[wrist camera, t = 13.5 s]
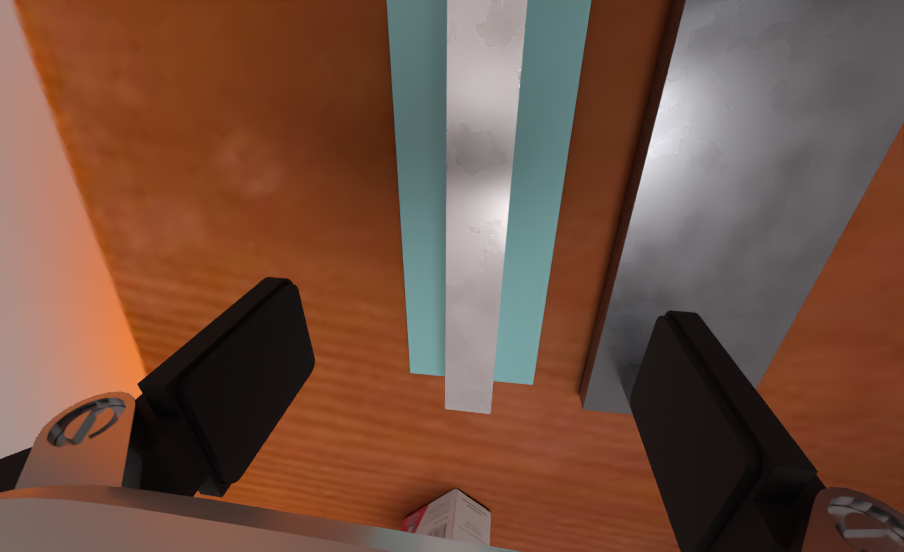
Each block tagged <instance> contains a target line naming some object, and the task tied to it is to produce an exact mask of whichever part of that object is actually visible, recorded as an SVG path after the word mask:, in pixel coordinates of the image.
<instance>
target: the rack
mask: <svg viewBox="0 0 904 552" xmlns="http://www.w3.org/2000/svg"><path fill="white" fill-rule="evenodd" d="M903 123H904V0H673V1H672V5H671V9H670V13H669V18H668V22H667V26H666V30H665V34H664V39H663V43H662V47H661V51H660V55H659V60H658V64H657V68H656V72H655V76H654V80H653V85H652V89H651V93H650V97H649V101H648V106H647V110H646V114H645V118H644V122H643V127H642V131H641V135H640V139H639V143H638V148H637V152H636V156H635V160H634V164H633V168H632V173H631V177H630V181H629V185H628V189H627V194H626V198H625V202H624V206H623V210H622V215H621V219H620V223H619V227H618V231H617V236H616V240H615V244H614V248H613V252H612V256H611V261H610V265H609V269H608V273H607V277H606V282H605V286H604V290H603V294H602V298H601V303H600V307H599V311H598V315H597V319H596V324H595V328H594V332H593V336H592V340H591V345H590V349H589V353H588V357H587V361H586V365H585V370H584V374H583V378H582V382H581V386H580V391H579V396H580V400H581V405H582V409H583V410H593V411H602V412H612V413H622V414H632V415H633V413H632V410H631V406H630V396H631V392H632V389H633V386H634V383H635V380H636V377H637V374H638V372H639V369H640V366H641V363H642V360H643V357H644V354H645V351H646V348H647V345H648V342H649V340H650V337H651V334H652V331H653V328H654V325H655V322H656V320H657V318H658V317H659V316H664V315H665V314H666V312H667V311H670V310H672V311H685V312H695V313H697V314H698V315H699V316H700V317H701V318H702V319H703V321H704V322H705V323H706V325H707V326H708V327H709V329H710V330H711V331H712V333H713V334H714V335H715V337H716V338H717V339H718V341H719V342H720V343H721V345H722V346H723V347H724V348H725V350H726V351H727V352H728V354H729V355H730V356H731V358H732V359H733V360H734V362H735V363H736V364H737V366H738V367H739V368H740V370H741V371H742V372H743V374H744V375H745V376H746V378H747V379H748V380H749V381H750V383H751V384H752V385H753V387H754V388H755V389H756V388H757V386H758V384H759V382H760V381H761V379H762V377H763V375H764V373H765V372H766V370H767V368H768V366H769V364H770V363H771V361H772V359H773V357H774V355H775V354H776V352H777V350H778V348H779V346H780V344H781V343H782V341H783V339H784V337H785V335H786V334H787V332H788V330H789V328H790V326H791V325H792V323H793V321H794V319H795V317H796V316H797V314H798V312H799V310H800V308H801V307H802V305H803V303H804V301H805V299H806V298H807V296H808V294H809V292H810V290H811V289H812V287H813V285H814V283H815V281H816V280H817V278H818V276H819V274H820V272H821V271H822V269H823V267H824V265H825V263H826V262H827V260H828V258H829V256H830V254H831V253H832V251H833V249H834V247H835V245H836V243H837V242H838V240H839V238H840V236H841V234H842V233H843V231H844V229H845V227H846V225H847V224H848V222H849V220H850V218H851V216H852V215H853V213H854V211H855V209H856V207H857V206H858V204H859V202H860V200H861V198H862V197H863V195H864V193H865V191H866V189H867V188H868V186H869V184H870V182H871V180H872V179H873V177H874V175H875V173H876V171H877V170H878V168H879V166H880V164H881V162H882V161H883V159H884V157H885V155H886V153H887V152H888V150H889V148H890V146H891V144H892V142H893V141H894V139H895V137H896V135H897V133H898V132H899V130H900V128H901V126H902V124H903ZM633 417H634V416H633ZM636 425H637V424H636Z"/></svg>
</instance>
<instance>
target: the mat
mask: <svg viewBox="0 0 904 552" xmlns="http://www.w3.org/2000/svg"><path fill="white" fill-rule="evenodd" d="M590 7H591V0H527V11H526V23H525V34H524V45H523V56H522V67H521V78H520V89H519V100H518V111H517V123H516V134H515V145H514V156H513V167H512V178H511V189H510V200H509V212H508V223H507V234H506V245H505V256H504V267H503V278H502V289H501V300H500V312H499V323H498V334H497V345H496V356H495V367H494V378H493V381H499V382H510V383H520V384H530V385H533V380H534V373H535V367H536V360H537V354H538V347H539V340H540V334H541V327H542V321H543V314H544V308H545V301H546V295H547V288H548V282H549V275H550V268H551V262H552V255H553V249H554V242H555V236H556V229H557V223H558V216H559V210H560V203H561V196H562V190H563V183H564V177H565V170H566V164H567V157H568V151H569V144H570V138H571V131H572V124H573V118H574V111H575V105H576V98H577V92H578V85H579V79H580V72H581V66H582V59H583V52H584V46H585V39H586V33H587V26H588V20H589V13H590ZM387 14H388V29H389V45H390V61H391V76H392V92H393V108H394V124H395V139H396V155H397V171H398V186H399V202H400V218H401V233H402V249H403V265H404V280H405V296H406V312H407V327H408V343H409V359H410V373H416V374H427V375H437V376H445V339H446V135H447V0H387Z"/></svg>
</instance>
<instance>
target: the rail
mask: <svg viewBox="0 0 904 552" xmlns="http://www.w3.org/2000/svg"><path fill="white" fill-rule="evenodd" d="M526 11H527V0H447V135H446V339H445V409H450V410H459V411H469V412H478V413H487V414H490V412H491V401H492V389H493V378H494V367H495V356H496V345H497V334H498V323H499V312H500V300H501V289H502V278H503V267H504V256H505V245H506V234H507V223H508V212H509V200H510V189H511V178H512V167H513V156H514V145H515V134H516V123H517V111H518V100H519V89H520V78H521V67H522V56H523V45H524V34H525V23H526Z"/></svg>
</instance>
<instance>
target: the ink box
mask: <svg viewBox="0 0 904 552" xmlns="http://www.w3.org/2000/svg"><path fill="white" fill-rule="evenodd" d="M490 522H491V513H490V512H489V511H487V510H486V509H485V508H484V507H482V506H481V505H479V504H478V503H476V502H475V501H473V500H472V499H470V498H469V497H467V496H466V495H465V494H463V493H462V492H461V491H459V490H458V489H453V490H452V491H450V492H448V493H447V494H445V495H443V496H442V497H440V498H438V499H437V500H435V501H433V502H431V503H430V504H428V505H427V506H425V507H423V508H421V509H420V510H418V511H416V512H415V513H413V514H411V515H410V516H408V517H407V518H405V519H404V520H403V524H402V528H401V531H403V532H409V533H415V534H421V535H427V536H433V537H439V538H445V539H451V540H456V541H462V542H468V543H474V544H480V545H486V546H489V545H490Z"/></svg>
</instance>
